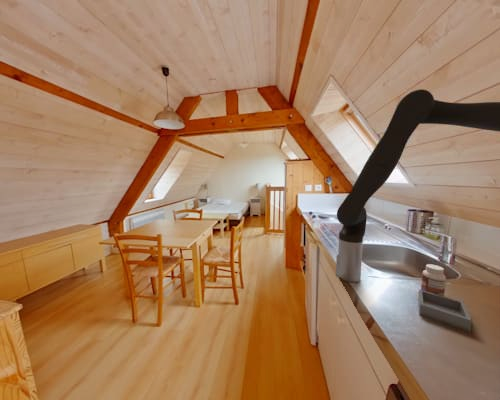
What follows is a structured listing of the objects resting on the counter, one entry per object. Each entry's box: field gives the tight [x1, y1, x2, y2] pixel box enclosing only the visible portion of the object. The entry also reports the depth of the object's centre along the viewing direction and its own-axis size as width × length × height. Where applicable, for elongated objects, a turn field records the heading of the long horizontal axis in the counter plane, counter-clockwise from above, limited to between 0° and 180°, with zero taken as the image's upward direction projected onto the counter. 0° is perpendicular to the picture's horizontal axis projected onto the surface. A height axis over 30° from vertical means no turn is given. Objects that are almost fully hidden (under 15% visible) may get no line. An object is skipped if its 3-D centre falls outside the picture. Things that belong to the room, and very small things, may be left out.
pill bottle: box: [420, 263, 447, 297], centre depth 68 cm, size 6×6×11 cm
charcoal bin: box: [417, 289, 472, 333], centre depth 59 cm, size 11×11×4 cm
